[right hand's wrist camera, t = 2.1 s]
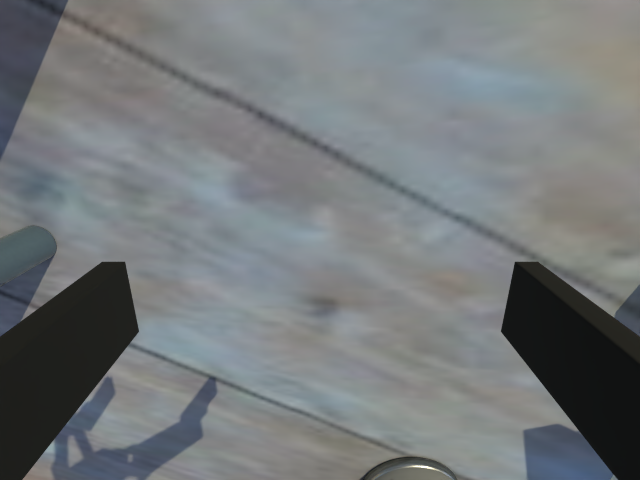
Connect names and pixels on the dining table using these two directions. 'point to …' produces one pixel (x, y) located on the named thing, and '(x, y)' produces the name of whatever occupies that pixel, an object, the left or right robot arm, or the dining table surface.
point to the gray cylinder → (24, 251)
